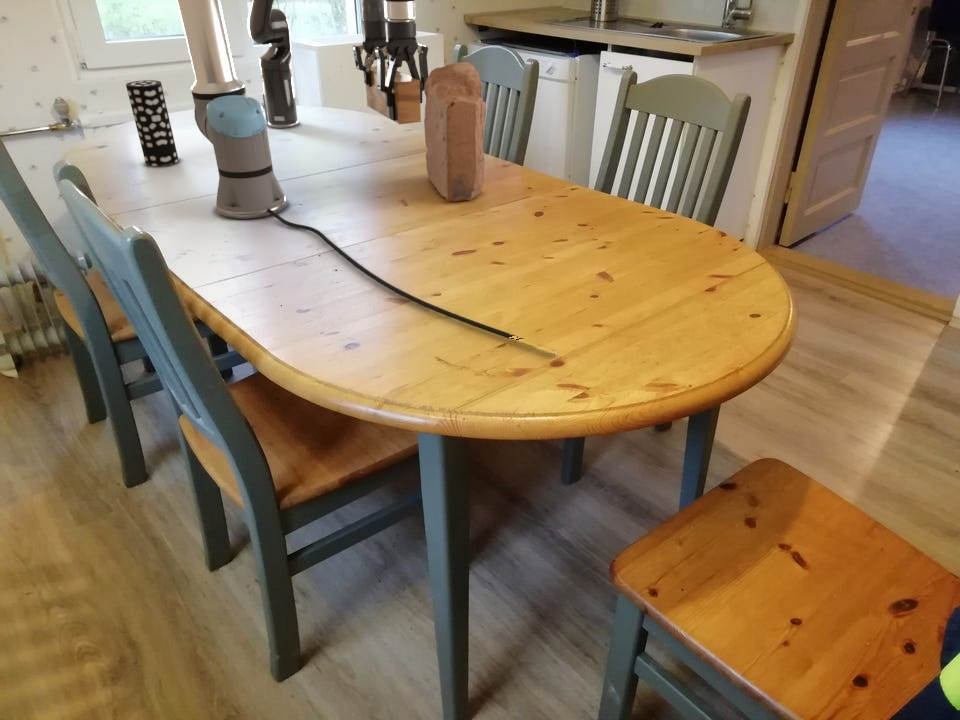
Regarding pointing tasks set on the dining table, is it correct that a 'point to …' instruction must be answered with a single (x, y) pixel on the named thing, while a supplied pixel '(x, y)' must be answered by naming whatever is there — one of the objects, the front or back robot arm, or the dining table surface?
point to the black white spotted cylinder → (152, 122)
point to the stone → (455, 131)
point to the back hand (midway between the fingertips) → (380, 85)
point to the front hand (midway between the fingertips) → (404, 117)
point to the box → (396, 97)
